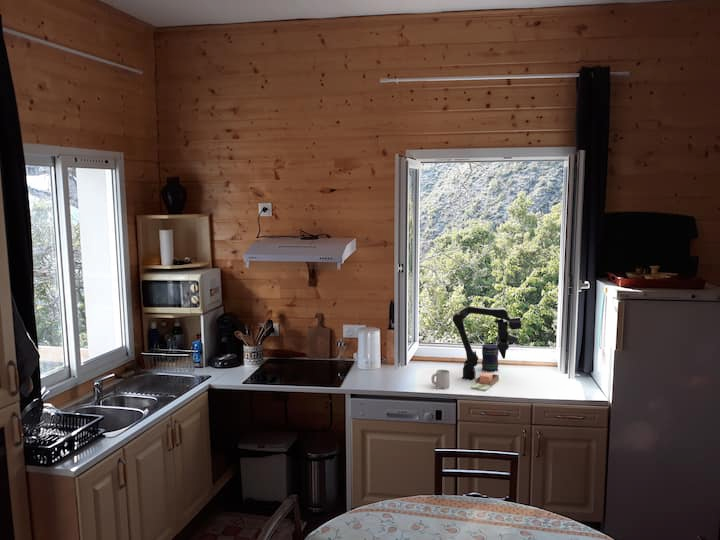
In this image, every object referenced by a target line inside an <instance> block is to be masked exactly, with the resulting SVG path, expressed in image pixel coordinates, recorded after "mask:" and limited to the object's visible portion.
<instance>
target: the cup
mask: <svg viewBox="0 0 720 540" xmlns="http://www.w3.org/2000/svg"><path fill="white" fill-rule="evenodd" d="M435 378H436V381H435ZM431 383H432V384H433V386H434V385H435V386H436V388H437V387H439V388H438V389H440V388H447V387H449V388H450V370H448V369H438V370H436V371H435V373H433V374H432V376H431ZM447 389H448V388H447Z"/></svg>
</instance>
